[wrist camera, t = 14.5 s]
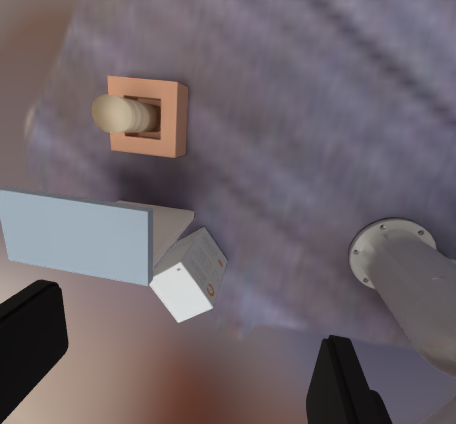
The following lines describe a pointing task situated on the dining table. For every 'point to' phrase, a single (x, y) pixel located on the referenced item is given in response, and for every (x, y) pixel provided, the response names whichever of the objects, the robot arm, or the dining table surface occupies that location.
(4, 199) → the lidded rectangular box
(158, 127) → the peg
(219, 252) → the small box
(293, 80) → the dining table surface
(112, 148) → the socket
